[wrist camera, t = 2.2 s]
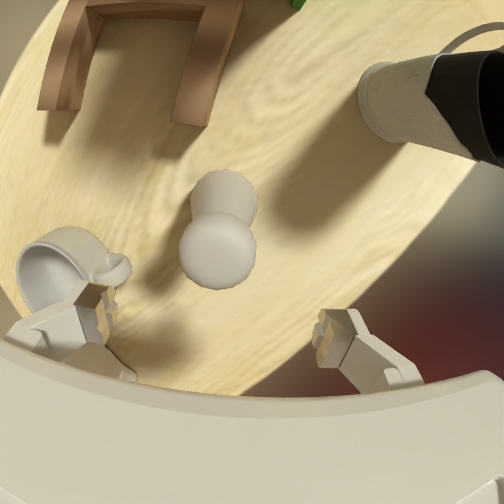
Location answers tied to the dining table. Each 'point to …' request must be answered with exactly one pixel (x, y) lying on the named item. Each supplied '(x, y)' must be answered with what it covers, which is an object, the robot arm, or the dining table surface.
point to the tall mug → (440, 100)
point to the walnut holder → (142, 6)
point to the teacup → (66, 266)
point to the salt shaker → (220, 231)
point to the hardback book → (298, 4)
